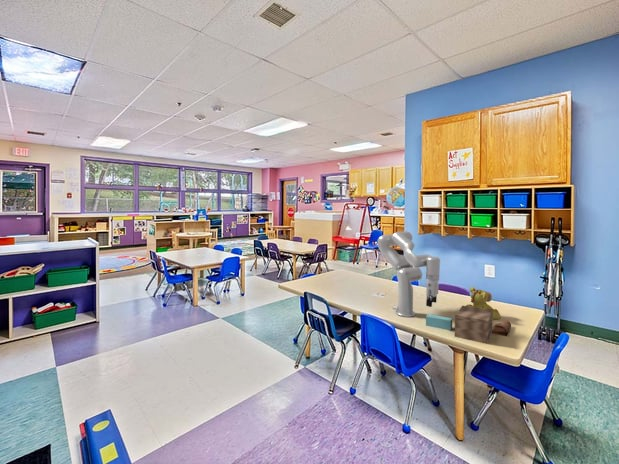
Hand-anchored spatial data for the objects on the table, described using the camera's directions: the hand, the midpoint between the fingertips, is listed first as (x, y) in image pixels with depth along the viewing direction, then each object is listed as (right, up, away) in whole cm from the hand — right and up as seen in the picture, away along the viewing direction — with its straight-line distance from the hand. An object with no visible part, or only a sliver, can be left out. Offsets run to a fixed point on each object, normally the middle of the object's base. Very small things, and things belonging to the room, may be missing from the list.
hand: (431, 304), depth 186 cm
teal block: (+4, -13, -2) cm, 14 cm away
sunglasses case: (+38, -14, -8) cm, 41 cm away
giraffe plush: (+39, -12, +15) cm, 43 cm away
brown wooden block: (+19, -14, -14) cm, 27 cm away
